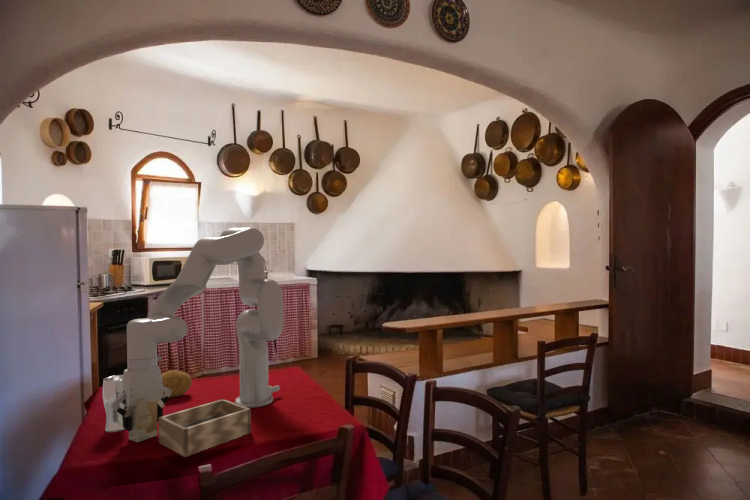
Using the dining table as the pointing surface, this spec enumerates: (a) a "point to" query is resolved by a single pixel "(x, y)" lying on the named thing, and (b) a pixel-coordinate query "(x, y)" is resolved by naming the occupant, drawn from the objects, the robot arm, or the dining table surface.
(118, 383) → the beer glass
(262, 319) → the robot arm
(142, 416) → the skincare box
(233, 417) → the insert box
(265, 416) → the dining table surface
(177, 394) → the potato
